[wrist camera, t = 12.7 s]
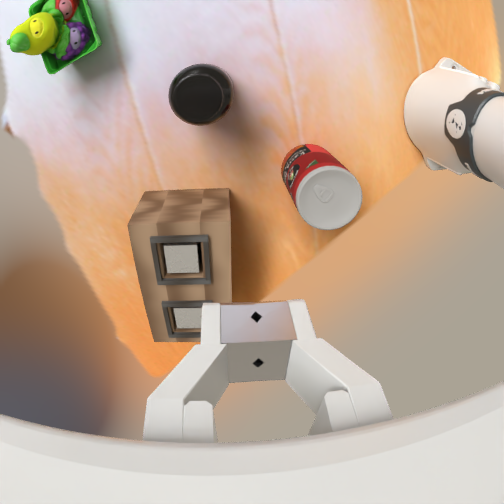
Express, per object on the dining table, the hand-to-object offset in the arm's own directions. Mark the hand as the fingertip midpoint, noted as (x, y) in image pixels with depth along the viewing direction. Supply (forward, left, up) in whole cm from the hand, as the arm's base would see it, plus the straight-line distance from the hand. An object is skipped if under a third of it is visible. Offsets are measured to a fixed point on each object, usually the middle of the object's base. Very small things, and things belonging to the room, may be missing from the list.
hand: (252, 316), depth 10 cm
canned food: (-11, +7, -35) cm, 38 cm away
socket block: (+6, +20, -35) cm, 41 cm away
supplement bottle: (+3, -4, -35) cm, 36 cm away
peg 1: (+6, +15, -34) cm, 38 cm away
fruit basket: (+21, -15, -35) cm, 44 cm away
